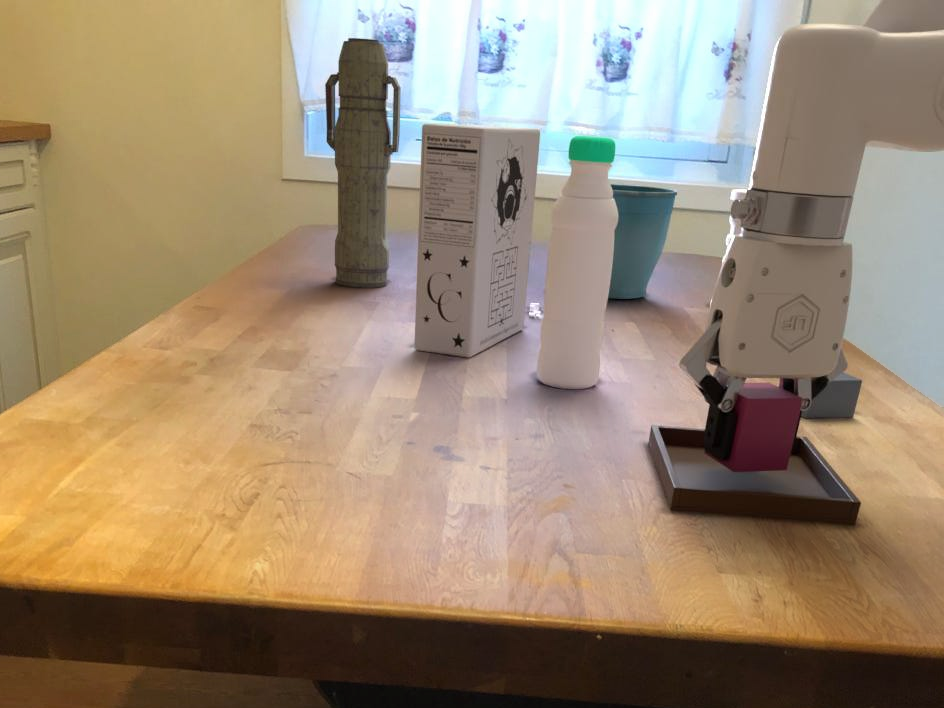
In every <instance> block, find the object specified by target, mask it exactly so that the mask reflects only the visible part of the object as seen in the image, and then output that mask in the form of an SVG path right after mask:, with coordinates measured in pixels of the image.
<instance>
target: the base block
mask: <svg viewBox="0 0 944 708" xmlns="http://www.w3.org/2000/svg"><path fill="white" fill-rule="evenodd" d="M862 385H863V379H860V378H858V377H856V376H853V375H851V374H848V373H846V372H843V373H842V374H840V375H839V376H838V377H836V378H835V379H834V380H833V381H831V382H828V383H827V386H826V387H825V389H823V390H822V391H821V392H820V393H819V394H818V395H817V396H816V397H815V398H814V399H813V400H812V402H811V406H810V407H809V409H807V410H806V411H802V414H801V418H802V417H803V418H804V419H830V418H831V419H833V418H854V416H855V412H856V408H857V404H858V400H859V397H860V396H859V395H860V393H861V388H862ZM778 387H780V382H779V383H778Z"/></svg>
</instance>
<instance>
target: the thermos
mask: <svg viewBox="0 0 944 708" xmlns="http://www.w3.org/2000/svg"><path fill="white" fill-rule="evenodd" d="M388 60H389V59H388V56H387V52H386V48H385V45H384V43H380V40H378V39H372V38H371V39H370V38H357V37H348V38H347V40H344V41H343V42H342V46H341V50H340V53H339V57H338V61H337V62H338V63H337V65H338V72H336V73H333V74H330V75H329V77H328V78H327V81H326V82H325V84H324V89H325V91H324V92H325V114H326V115H325V116H326V117H325V118H326V143H327V145H328V146H329V147H330V149H332V150H333V152H334V166H335V168H336V171H337V234H336V237H335V240H334V267H335V284H337V285H340V286H343V287H352V288H364V289H365V288H369V289H370V288H371V289H373V288H383V287H386V286H388V271H389V268H390V244H389V243H390V242H389V239H388V236H387V210H388V209H387V207H388V205H387V202H388V201H387V200H388V174H389V172H390V170H391V156H392V155H393V154H394V153H399V146H400V133H401V131H400V130H401V129H400V128H401V91H402V90H401V89H402V87H401V86H400V84H399V82H398V79H397V77H395V76H392V75H389V61H388ZM337 83H338V97H339V107H338V115H337V119H336V85H337ZM389 85H391V87H392V89H393V93H392V94H393V95H392V96H393V97H392V99H393V101H392V108H393V109H392V129H391V127H390V124H389V120H388V119H389V118H388V114H389V113H388V112H389V111H388V110H387V101H388V100H389ZM391 130H392V131H391Z"/></svg>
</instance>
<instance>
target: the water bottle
mask: <svg viewBox="0 0 944 708" xmlns="http://www.w3.org/2000/svg"><path fill="white" fill-rule="evenodd" d="M615 157H616V142H615V140H614V139H612V138H610V137H602V136H590V135H589V136H588V135H576V136H573V137H572V138H571V140H570V142H569V146H568V159H569V161H568V165H569V166H570V169H571V170H570V174H569V177H568V179H567V180H566V181H565V183H564V185H563V186H562V188H561V194H559V195H558V197H557V199H556V201H555V203H554V204H553V207H552V208H551V209H552V210H551V224H552V228H551V233H550V238H549V244H548V250H547V251H548V253H547V261H546V268H545V269H546V270H545V280H544V281H545V282H544V300H543V302H544V303H543V308H544V310H543V311H544V312H543V315H544V316H543V315H542V317H543V318H542V319H541V323H540V324H541V325H540V333H539V335H540V337H539V339H540V340H539V341H540V349H539V352H538V357H537V365H536V377H537V379H538V381H539V382H541V383H542V384H543V385H546V386H549V387H552V388H556V389H557V388H558V389H564V390H565V389H566V390H585V389H589V388H592V387H593V386H595V385H596V384H597V383H598V380H599V378H600V371H601V370H600V368H601V349H602V346H603V343H604V335H605V314H606V310H607V305H608V300H609V298H608V294H609V287H610V280H611V272H612V263H613V252H614V230H615V228H616V226H617V223H618V210H617V206H616V203H615V200H614V198H613V190H612V187H611V185H610V184H611V183H610V181H609V171H610V169H611V168H612V167H613V164H612V163H614V161H615Z"/></svg>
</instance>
